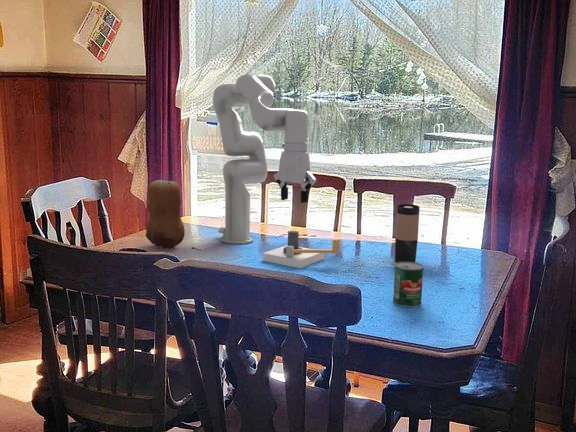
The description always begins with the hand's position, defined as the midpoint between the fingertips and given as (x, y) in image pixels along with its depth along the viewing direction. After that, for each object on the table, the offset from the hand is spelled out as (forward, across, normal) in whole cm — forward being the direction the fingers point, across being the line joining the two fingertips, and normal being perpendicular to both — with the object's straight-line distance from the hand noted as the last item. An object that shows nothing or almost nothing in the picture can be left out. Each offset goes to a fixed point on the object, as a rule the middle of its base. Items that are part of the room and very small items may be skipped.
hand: (294, 200), depth 211 cm
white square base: (+22, 0, 0) cm, 22 cm away
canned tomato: (+22, +48, -14) cm, 55 cm away
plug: (+20, 0, 0) cm, 20 cm away
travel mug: (+22, +30, +26) cm, 45 cm away
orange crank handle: (+17, +9, -1) cm, 20 cm away
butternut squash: (+22, -49, -11) cm, 55 cm away
